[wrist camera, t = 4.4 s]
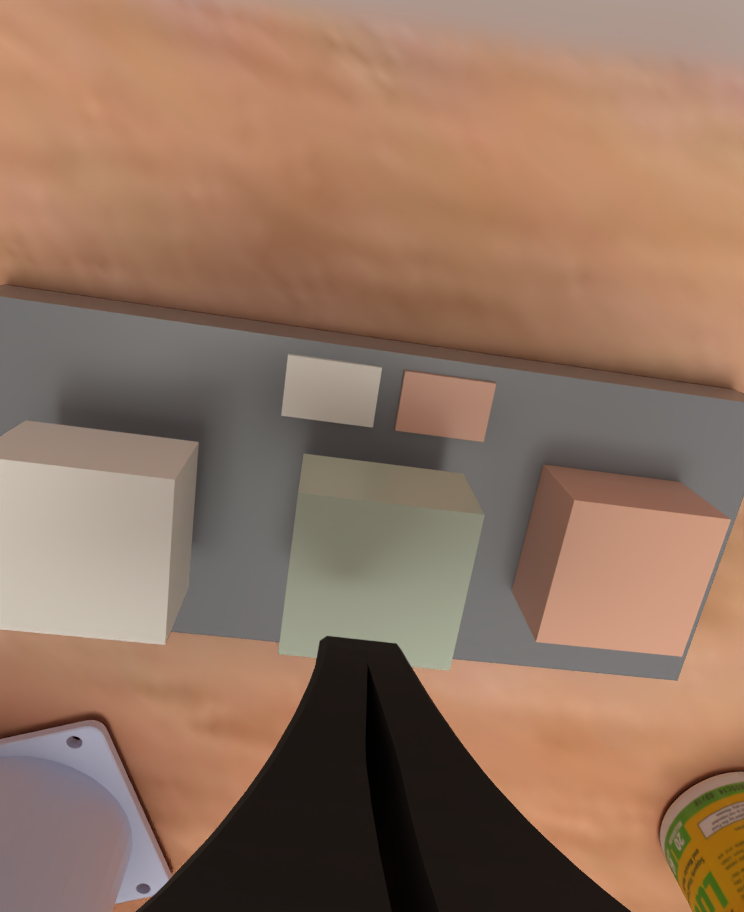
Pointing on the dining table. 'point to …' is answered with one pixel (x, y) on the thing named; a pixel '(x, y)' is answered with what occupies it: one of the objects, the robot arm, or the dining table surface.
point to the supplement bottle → (708, 843)
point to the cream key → (94, 531)
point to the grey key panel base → (358, 442)
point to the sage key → (380, 558)
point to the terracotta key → (616, 561)
